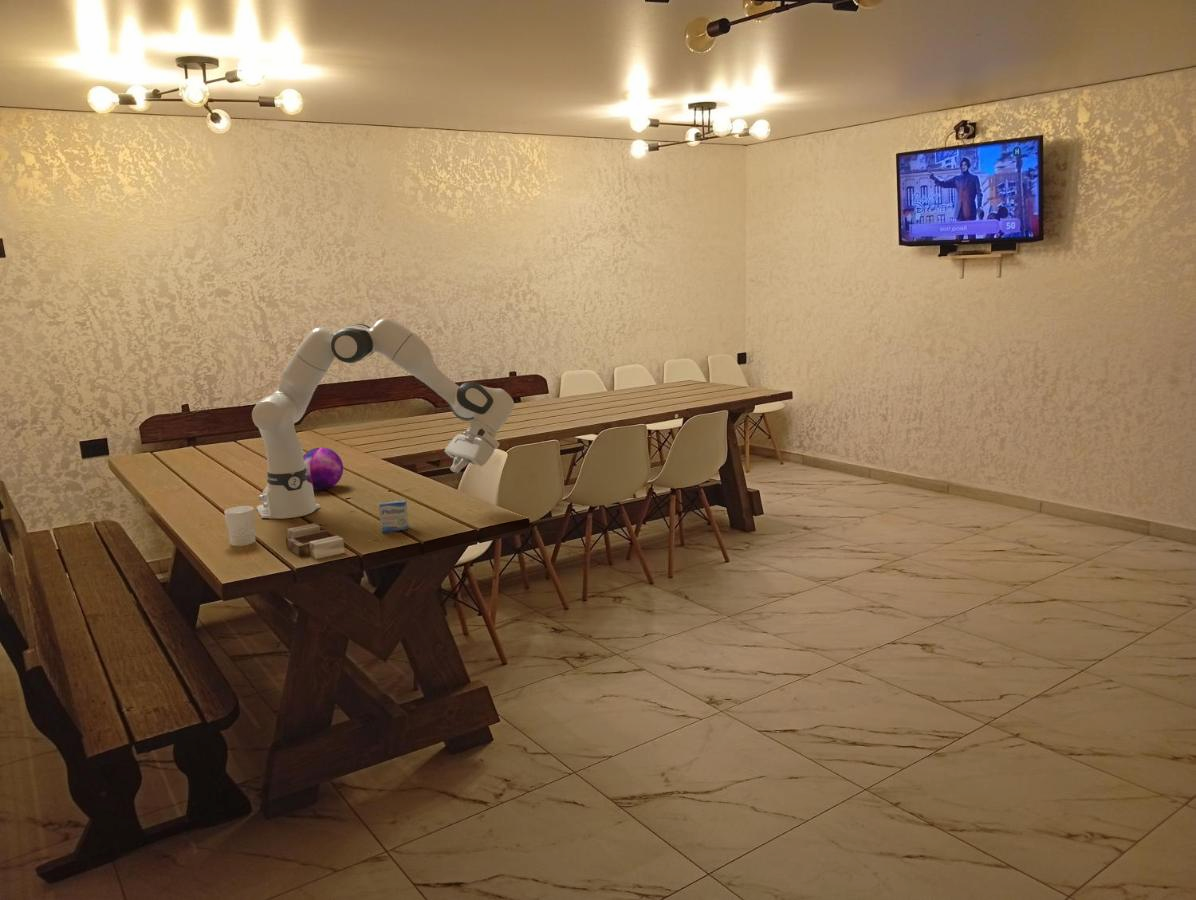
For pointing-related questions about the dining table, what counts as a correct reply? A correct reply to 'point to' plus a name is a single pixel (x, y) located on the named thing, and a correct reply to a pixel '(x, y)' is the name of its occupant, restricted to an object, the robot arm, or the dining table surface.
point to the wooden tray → (313, 542)
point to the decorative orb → (323, 468)
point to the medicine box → (393, 515)
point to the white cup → (240, 525)
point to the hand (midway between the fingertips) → (453, 471)
